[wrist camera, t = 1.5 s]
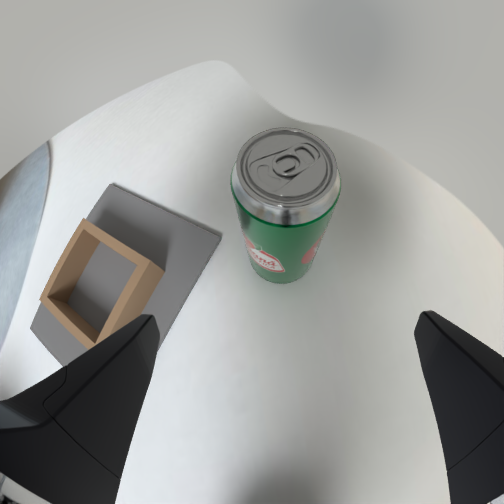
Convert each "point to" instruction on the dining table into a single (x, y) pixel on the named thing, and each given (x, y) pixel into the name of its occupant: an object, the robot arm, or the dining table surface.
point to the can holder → (120, 274)
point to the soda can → (284, 200)
